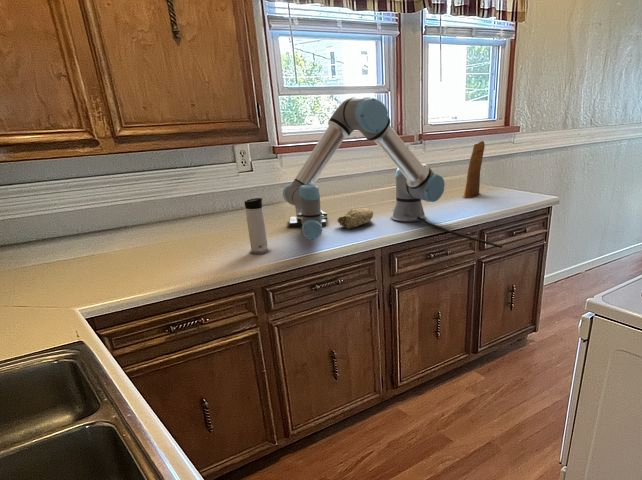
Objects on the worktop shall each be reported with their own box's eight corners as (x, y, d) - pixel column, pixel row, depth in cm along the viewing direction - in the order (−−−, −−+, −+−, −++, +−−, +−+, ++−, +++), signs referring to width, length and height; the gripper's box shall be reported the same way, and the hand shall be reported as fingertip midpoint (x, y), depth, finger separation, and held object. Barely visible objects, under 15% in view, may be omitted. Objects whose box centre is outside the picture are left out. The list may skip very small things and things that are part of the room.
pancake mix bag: (485, 193, 297) (489, 140, 283) (471, 199, 282) (474, 144, 269) (474, 192, 300) (477, 140, 286) (459, 198, 285) (462, 143, 272)
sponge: (353, 233, 225) (384, 216, 236) (347, 216, 222) (379, 199, 232) (335, 233, 234) (365, 216, 245) (329, 217, 231) (360, 200, 241)
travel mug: (264, 254, 195) (257, 200, 185) (248, 253, 196) (240, 199, 186) (271, 249, 200) (265, 196, 191) (255, 248, 201) (248, 196, 192)
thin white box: (318, 218, 237) (317, 199, 233) (318, 219, 235) (317, 200, 231) (296, 219, 235) (295, 200, 231) (296, 220, 234) (294, 201, 230)
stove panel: (325, 219, 243) (325, 214, 242) (326, 226, 231) (325, 222, 230) (291, 220, 241) (290, 215, 240) (289, 228, 229) (289, 223, 228)
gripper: (297, 231, 212) (298, 217, 233) (328, 229, 214) (327, 216, 234) (295, 212, 208) (296, 200, 229) (327, 211, 210) (326, 199, 231)
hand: (312, 208), depth 232 cm, fingers closed
